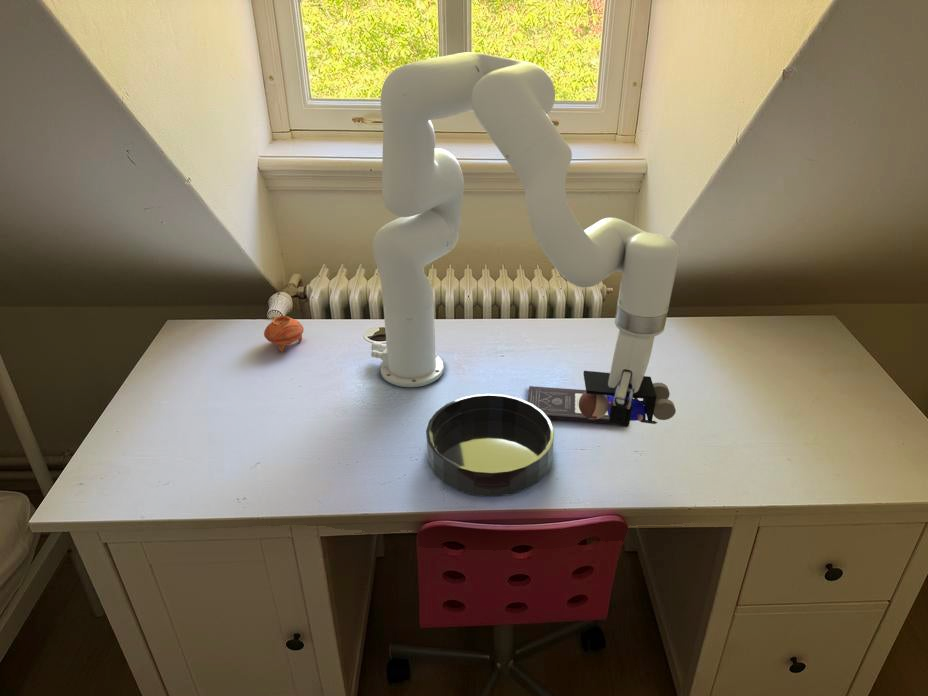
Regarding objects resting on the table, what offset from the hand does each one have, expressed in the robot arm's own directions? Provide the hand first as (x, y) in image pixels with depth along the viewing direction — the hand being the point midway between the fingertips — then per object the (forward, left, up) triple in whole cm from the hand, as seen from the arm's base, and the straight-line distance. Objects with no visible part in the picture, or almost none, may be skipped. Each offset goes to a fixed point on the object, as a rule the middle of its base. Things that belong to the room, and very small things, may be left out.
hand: (624, 409), depth 114 cm
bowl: (-20, -8, -10) cm, 24 cm away
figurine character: (0, 0, -2) cm, 2 cm away
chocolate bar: (-10, +11, -10) cm, 18 cm away
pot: (-73, +10, -10) cm, 75 cm away
